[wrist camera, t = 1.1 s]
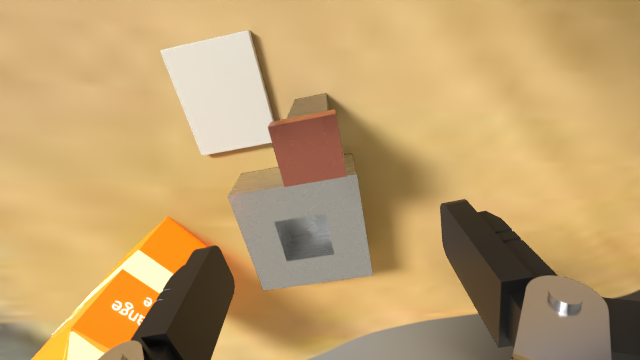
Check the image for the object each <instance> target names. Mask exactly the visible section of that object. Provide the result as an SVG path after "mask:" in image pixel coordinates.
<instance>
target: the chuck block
mask: <svg viewBox="0 0 640 360" xmlns="http://www.w3.org/2000/svg"><path fill="white" fill-rule="evenodd" d="M343 158H344V163H345V169H346V175H347V177H341V178H335V179H329V180H324V181H318V182H312V183H306V184H301V185H295V186H289V187H284V184H283V180H282V176H281V173H280V169H279V167H276V168H270V169H265V170H259V171H253V172H248V173H242V174H241V175H240V176H239V178H238V180H237V181H236V183H235V185H234V186H233V188H232V190H231V191H230V193H229V195H228V199H229V202H230V204H231V207H232V209H233V212H234V215H235V217H236V220H237V222H238V225H239V228H240V230H241V233H242V236H243V238H244V241H245V243H246V246H247V249H248V251H249V254H250V256H251V259H252V262H253V264H254V267H255V270H256V272H257V275H258V277H259V280H260V283H261V285H262V288H263V290H271V289H278V288H285V287H292V286H299V285H307V284H314V283H321V282H328V281H335V280H342V279H349V278H356V277H364V276H371V275H373V273H372V267H371V260H370V254H369V248H368V241H367V235H366V229H365V222H364V216H363V210H362V203H361V197H360V191H359V184H358V178H357V172H356V168H355V164H354V160H353V156H352V154H348V155H343Z"/></svg>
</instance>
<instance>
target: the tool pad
mask: <svg viewBox="0 0 640 360" xmlns="http://www.w3.org/2000/svg"><path fill="white" fill-rule="evenodd" d="M160 52H161V54H162V57H163V60H164V62H165V65H166V67H167V70H168V72H169V75H170V77H171V80H172V82H173V85H174V87H175V90H176V92H177V95H178V97H179V100H180V102H181V105H182V107H183V110H184V112H185V115H186V117H187V120H188V122H189V125H190V127H191V130H192V132H193V135H194V137H195V140H196V142H197V145H198V147H199V150H200V152H201V155H202V156H203V155H208V154H214V153H219V152H224V151H230V150H235V149H240V148H246V147H251V146H256V145H261V144H267V143H272V141H271V137H270V134H269V130H268V125H269V124H270V122H272V121H274V118H273V114H272V110H271V107H270V103H269V99H268V95H267V92H266V88H265V84H264V81H263V77H262V73H261V69H260V66H259V62H258V58H257V55H256V51H255V47H254V43H253V40H252V36H251V32H250V30H246V31H242V32H238V33H233V34H229V35H224V36H220V37H216V38H211V39H207V40H202V41H198V42H194V43H189V44H185V45H181V46H176V47H172V48H167V49H163V50H160Z"/></svg>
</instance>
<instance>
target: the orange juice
mask: <svg viewBox="0 0 640 360" xmlns="http://www.w3.org/2000/svg"><path fill="white" fill-rule="evenodd" d="M204 247H207V246H205V245H204V244H203V243H201V242H200V241H199V240H198V239H196V238H195V237H194V236H192V235H191V234H190V233H188V232H187V231H186V230H185V229H183V228H182V227H181V226H179V225H178V224H177V223H176V222H174V221H173V220H172V219H170V218H169V217H167V218H165V219H164V220H163V221H162V222H161V223H160V224H159V225H158V226H157V227H156V228H155V229H154V230H152V231H151V232H150V233H149V234H148V235H147V236H146V237H145V238H144V239H143V240H142V241H141V242H139V243H138V244H137V245H136V246H135V247H134V248H133V249H132V250H131V251H130V252H129V253H128V254H126V255H125V257H124V258H123V259H122V260H121V261H120V262H119V263H118V264H117V265H116V267H115V268H114V269H113V270H112V271H111V272H110V273H109V274H108V275H107V276H106V278H105V279H104V280H103V281H102V282H101V283H100V284H99V285H98V286H97V288H96V289H95V290H94V291H93V292H92V293H91V294H90V295H89V296H88V297H87V298H86V299H85V300H84V301H83V302H82V304H81V305H80V306H79V307H78V308H77V309H76V310H75V311H74V312H73V314H72V315H71V316H70V317H69V319H68V320H67V321H65V323H64V324H63V325H62V326H60V329H59V328H58V329H59V330H58V329H57V330H58V331H57V332H56V333H55V334H54V333H53V334H54V335H53V334H52V335H53V336H52V337H51V338H50V340H49V341H48V342H47V343H46V344H45V345H44V346H43V347H42V348H41V350H40V351H39V352H38V353H37V354H36V355H35V356H34V357H33V358H32V360H98V359H99V358H100V357H101V356H102V355H103V354H105V353H106V352H107V351H108V350H110V349H111V348H113V347H115V346H116V345H118V344H121V343H123V342H126V341H130V340H131V338H132V336H133V335H134V333H135V332H136V330H137V329H138V327H139V326H140V324H141V322H142V321H143V319H144V318H145V316H146V315H147V313H148V311H149V310H150V308H151V307H152V305H153V304H154V302H156V299H157V297H158V296H159V294H160V293H161V292H162V291H163V288H164V286H165V285H166V283H167V282H168V280H169V279H170V277H171V276H172V275H173V274H174V273H175V272H176V271H177V270H178V269H179V268H180V267H181V266H183V265H185V263H186V262H187V260H188V258H189V257H190V255H191V254H192V252H193V251H194V250H195V249H199V248H204Z"/></svg>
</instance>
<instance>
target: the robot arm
mask: <svg viewBox="0 0 640 360" xmlns="http://www.w3.org/2000/svg"><path fill="white" fill-rule="evenodd" d="M440 213H441V228H442V242H443V247H444V250H445V253H446V256H447V258H448V260H449V262H450V263H451V265H452V267H453V269H454V271H455V272H456V274H457V276H458V278H459V279H460V281H461V283H462V285H463V286H464V288H465V290H466V292H467V293H468V295H469V297H470V299H471V301H472V302H473V304H474V306H475V308H476V309H477V311H478V313H479V315H480V316H481V318H482V320H483V322H484V323H485V325H486V327H487V329H488V331H489V332H490V334H491V336H492V338H493V339H494V341H495V343H496V344H497V346H498V347H506V346H513V347H514V352H513V357H512V358H510V360H640V301H631V300H620V299H611V298H604V297H601V296H600V295H599V294H598V293H597V292H596V291H594V290H593V289H592V288H590V287H588V286H587V285H585V284H583V283H581V282H579V281H576V280H573V279H570V278H567V277H562V276H558V275H557V274H556V273H555V272H554V271H553V270H552V269H551V268H550V267H549V266H548V265H547V264H546V263H545V262H544V261H543V260H542V259H541V258H540V257H539V256H538V255H537V254H536V253H535V252H534V251H533V250H532V249H531V248H530V247H529V246H528V245H527V244H526V243H525V242H524V241H523V240H522V241H521V238H520V237H519V236H518V235H517V234H516V233H515V232H514V231H512V229H511V228H510V227H509V226H508V225H507V224H506V223H505V222H504V221H503V220H502V219H501V218H499V217H497V216H495V215H493V214H491V213H489V212H487V211H482V212H477V211H476V210H475V209H474V208H473V207H472V206H471V205H470V204H469V202H468V201H467V200H465V199H463V200H458V201H452V202H447V203H442V204H441V206H440ZM234 287H235V286H234V279H233V276H232V273H231V271H230V269H229V267H228V265H227V263H226V261H225V259H224V257H223V254H222V252H221V250H220V249H219V247H218V246H210V247H204V248H199V249H195V250H194V251H193V252H192V254H191V255H190V257H189V258H188V260H187V262H186V263H185V265H183V266H181V267H180V268H179V269H178V270H177V271H176V272H175V273H174V274H173V275H172V276H171V277H170V279H169V280H168V282H167V283H166V285H165V286H164V288H163V291H162V292H161V293H160V294H159V296H158V297H157V299H156V302H154V304H153V305H152V307H151V308H150V310H149V311H148V313H147V315H146V316H145V318H144V319H143V321H142V322H141V324H140V326H139V327H138V329H137V330H136V332H135V333H134V335H133V336H132V338H131V340H130V341H126V342H123V343H121V344H118V345H116V346H115V347H113V348H111V349H110V350H108V351H107V352H106V353H105V354H103V355H102V356H101V357H100V358H99V359H98V360H211V357H212V354H213V351H214V348H215V346H216V343H217V340H218V337H219V334H220V331H221V328H222V326H223V323H224V320H225V317H226V314H227V311H228V308H229V306H230V303H231V300H232V297H233V294H234Z"/></svg>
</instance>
